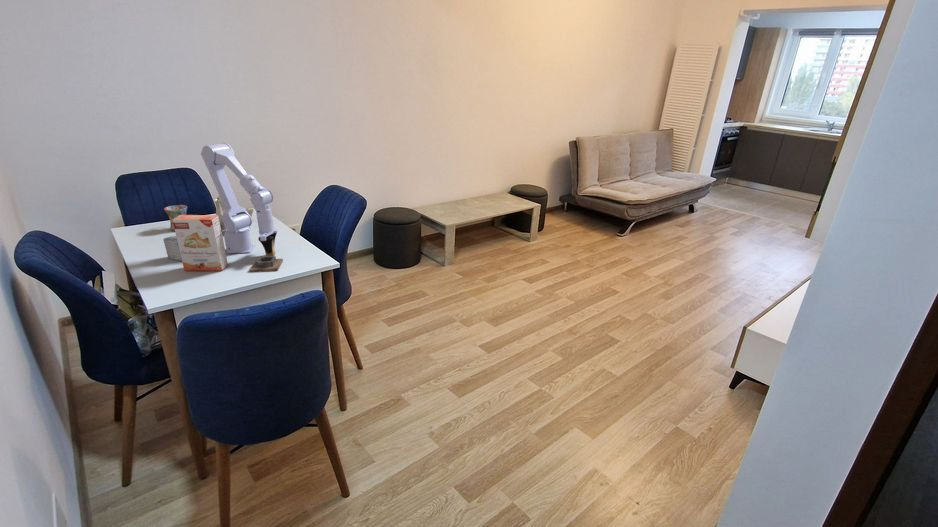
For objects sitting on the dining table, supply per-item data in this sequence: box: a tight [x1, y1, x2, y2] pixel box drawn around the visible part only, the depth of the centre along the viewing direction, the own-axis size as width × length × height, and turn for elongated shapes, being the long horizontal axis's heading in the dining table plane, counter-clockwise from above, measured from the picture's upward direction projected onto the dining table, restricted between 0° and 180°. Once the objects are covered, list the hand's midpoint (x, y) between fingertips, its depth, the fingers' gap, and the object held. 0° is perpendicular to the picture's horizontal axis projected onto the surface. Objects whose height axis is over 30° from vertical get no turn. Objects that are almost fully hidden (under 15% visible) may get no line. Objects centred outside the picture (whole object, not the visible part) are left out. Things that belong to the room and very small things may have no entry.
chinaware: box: [213, 195, 254, 232], centre depth 217 cm, size 28×17×17 cm, turn 15°
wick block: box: [264, 241, 276, 256], centre depth 185 cm, size 3×3×8 cm
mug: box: [163, 204, 188, 232], centre depth 212 cm, size 12×9×11 cm
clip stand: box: [249, 255, 284, 273], centre depth 176 cm, size 10×10×3 cm
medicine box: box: [163, 235, 182, 261], centre depth 180 cm, size 8×4×9 cm, turn 71°
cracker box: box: [172, 214, 229, 272], centre depth 169 cm, size 14×6×21 cm, turn 94°
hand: (270, 251), depth 186 cm, fingers closed on wick block, 3 cm apart
